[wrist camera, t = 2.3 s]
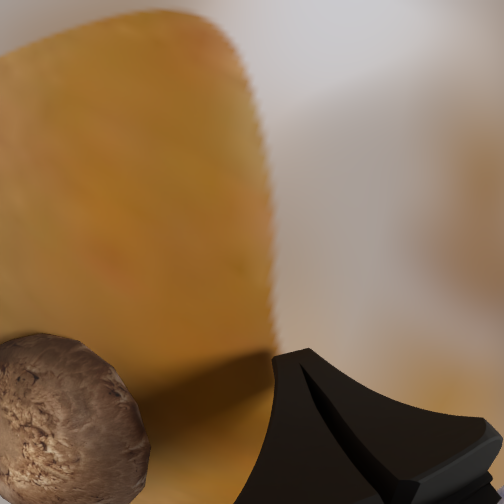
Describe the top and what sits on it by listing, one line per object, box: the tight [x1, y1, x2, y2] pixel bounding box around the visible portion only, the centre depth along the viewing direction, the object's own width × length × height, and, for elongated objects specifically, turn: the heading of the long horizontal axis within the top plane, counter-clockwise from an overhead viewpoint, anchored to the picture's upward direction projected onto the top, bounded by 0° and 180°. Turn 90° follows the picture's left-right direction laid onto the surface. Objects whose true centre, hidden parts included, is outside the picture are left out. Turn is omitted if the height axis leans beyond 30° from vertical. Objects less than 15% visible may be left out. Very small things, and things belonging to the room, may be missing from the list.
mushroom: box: [0, 334, 151, 504], centre depth 9 cm, size 8×8×6 cm
